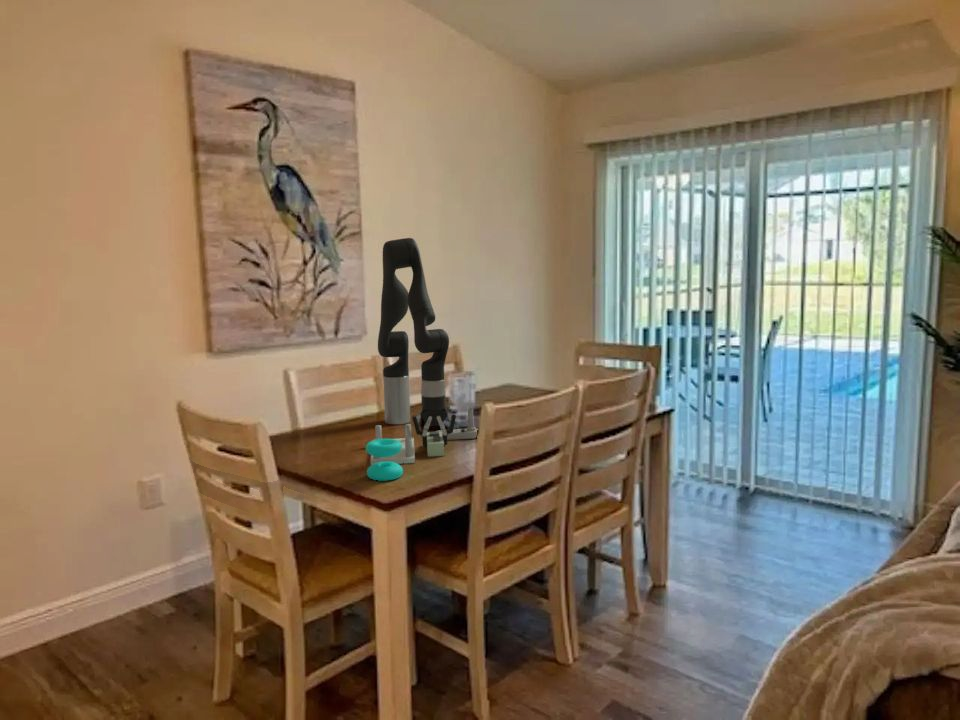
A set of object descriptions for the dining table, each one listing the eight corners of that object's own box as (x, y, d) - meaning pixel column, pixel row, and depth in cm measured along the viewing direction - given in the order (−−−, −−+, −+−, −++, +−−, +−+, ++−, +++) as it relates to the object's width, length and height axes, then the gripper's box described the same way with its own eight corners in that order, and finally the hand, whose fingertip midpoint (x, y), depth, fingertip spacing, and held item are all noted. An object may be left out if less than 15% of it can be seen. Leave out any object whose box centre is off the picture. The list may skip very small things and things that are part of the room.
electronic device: (433, 409, 251) (478, 406, 251) (435, 437, 253) (479, 435, 253) (432, 413, 246) (478, 410, 246) (434, 442, 247) (480, 439, 248)
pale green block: (426, 444, 242) (426, 430, 241) (442, 443, 242) (441, 429, 241) (427, 456, 228) (427, 441, 227) (444, 455, 228) (443, 440, 228)
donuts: (406, 437, 211) (395, 447, 202) (407, 472, 213) (397, 483, 203) (372, 436, 213) (360, 446, 203) (373, 470, 215) (362, 481, 205)
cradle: (373, 444, 244) (373, 424, 243) (413, 442, 245) (413, 422, 244) (370, 465, 220) (369, 443, 219) (415, 462, 222) (414, 441, 221)
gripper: (455, 390, 237) (456, 442, 239) (410, 392, 235) (411, 444, 238) (457, 395, 229) (458, 449, 232) (410, 396, 228) (412, 451, 230)
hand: (434, 446), depth 235 cm, fingers closed on pale green block, 5 cm apart
